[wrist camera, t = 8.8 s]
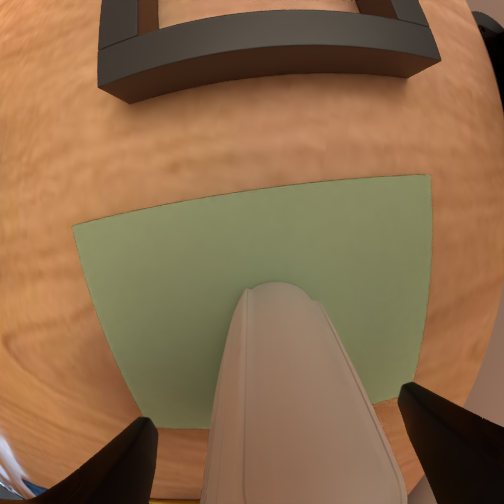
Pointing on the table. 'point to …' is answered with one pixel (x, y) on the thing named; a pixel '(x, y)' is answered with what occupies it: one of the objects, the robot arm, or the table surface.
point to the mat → (260, 281)
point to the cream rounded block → (293, 412)
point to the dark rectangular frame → (256, 45)
